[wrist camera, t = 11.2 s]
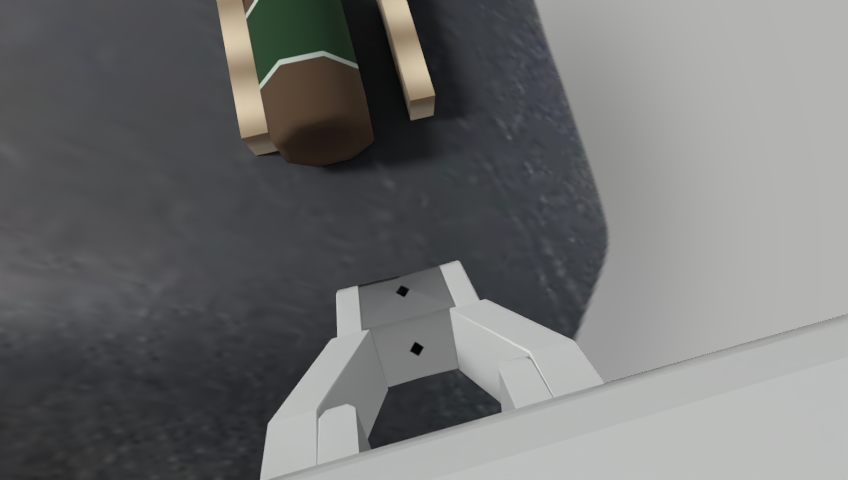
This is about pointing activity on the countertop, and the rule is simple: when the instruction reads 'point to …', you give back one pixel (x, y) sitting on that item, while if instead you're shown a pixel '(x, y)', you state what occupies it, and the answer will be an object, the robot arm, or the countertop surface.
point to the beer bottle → (309, 80)
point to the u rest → (247, 86)
